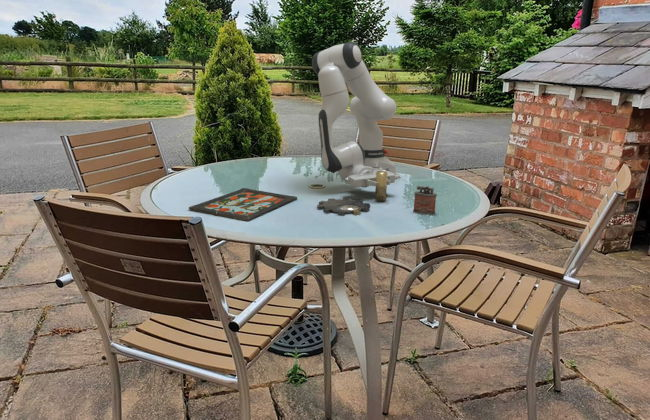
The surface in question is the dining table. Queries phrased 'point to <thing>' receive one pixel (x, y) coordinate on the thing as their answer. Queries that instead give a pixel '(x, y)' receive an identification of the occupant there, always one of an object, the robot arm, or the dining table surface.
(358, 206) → the sprocket plate
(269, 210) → the painting
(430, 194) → the lighter
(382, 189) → the pin
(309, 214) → the dining table surface
